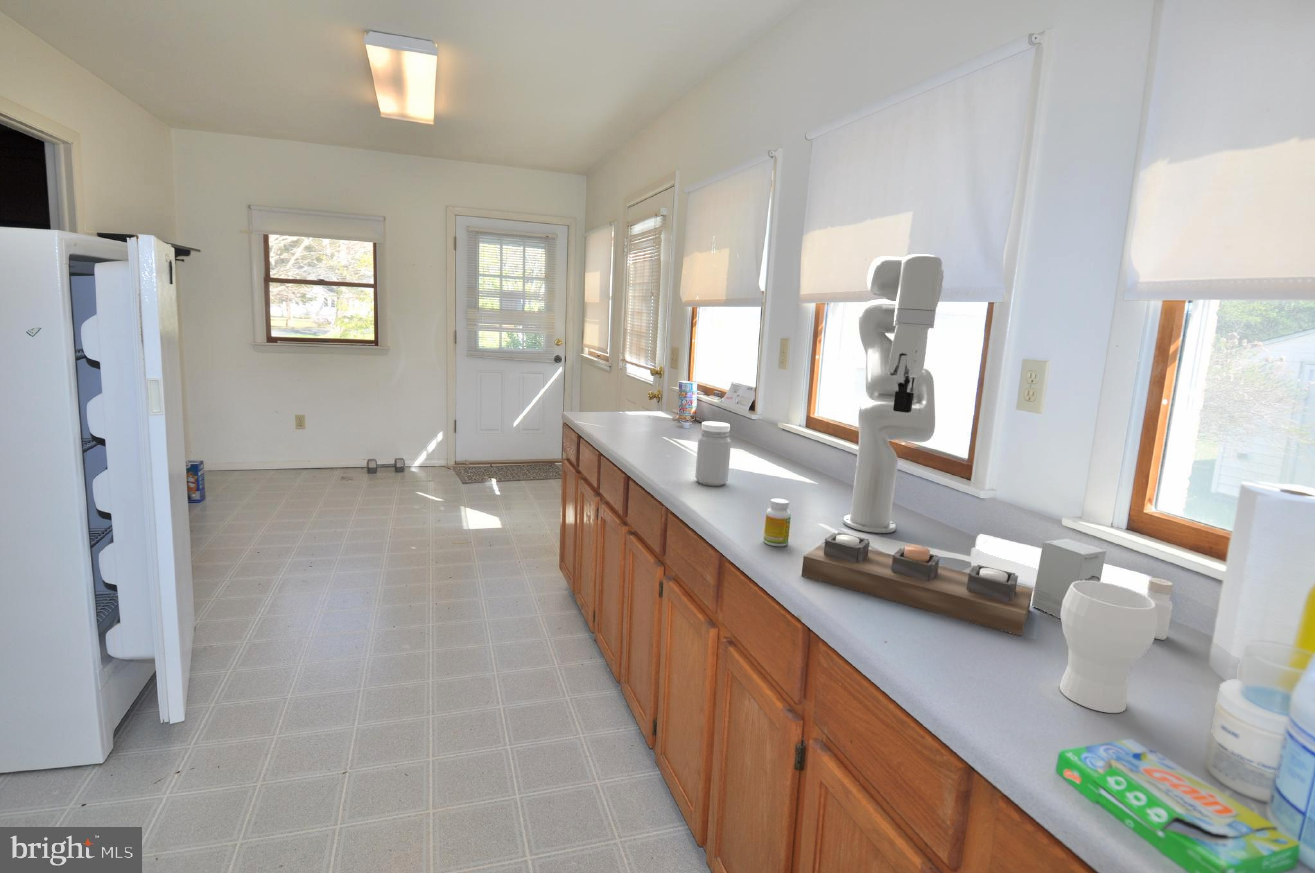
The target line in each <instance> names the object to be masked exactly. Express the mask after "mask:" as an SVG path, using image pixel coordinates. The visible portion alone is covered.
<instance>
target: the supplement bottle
mask: <svg viewBox="0 0 1315 873" xmlns="http://www.w3.org/2000/svg"><path fill="white" fill-rule="evenodd" d="M769 505H770V506H769V508H767V510H766V512H765V521H764V532H763V543H764V544H766V545H769V546H773V547H785V546H787V545H788V543H789V536H790V528H791V519H792V518H791V517H792V514H791V512H790V510H788V509H789V505H790V501H789V500H787V499H784V498H778V497H777V498H771V499H770V502H769Z"/></svg>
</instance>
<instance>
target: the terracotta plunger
mask: <svg viewBox="0 0 1315 873" xmlns="http://www.w3.org/2000/svg"><path fill="white" fill-rule="evenodd" d="M904 548H905V550H904V557H903V558H908V559H912V560H916V561H920V562H924V563H929V556H930V554H931V549H929V548H928V547H925V546H922V545H918V544H906V545H905V546H904Z"/></svg>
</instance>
